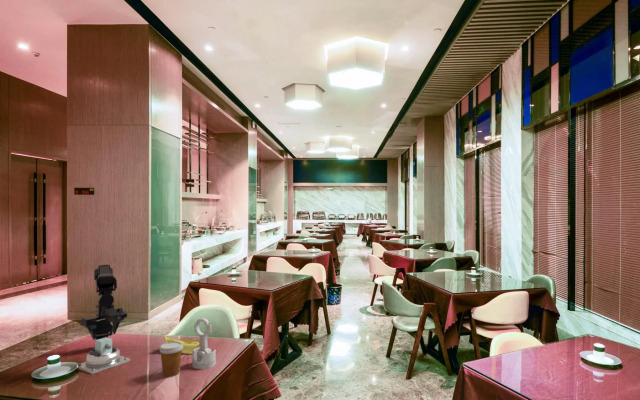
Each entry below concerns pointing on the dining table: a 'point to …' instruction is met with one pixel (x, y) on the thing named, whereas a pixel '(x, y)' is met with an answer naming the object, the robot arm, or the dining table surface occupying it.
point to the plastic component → (185, 344)
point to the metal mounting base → (102, 361)
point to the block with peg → (103, 346)
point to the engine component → (203, 348)
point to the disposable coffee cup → (171, 358)
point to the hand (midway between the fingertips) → (104, 336)
